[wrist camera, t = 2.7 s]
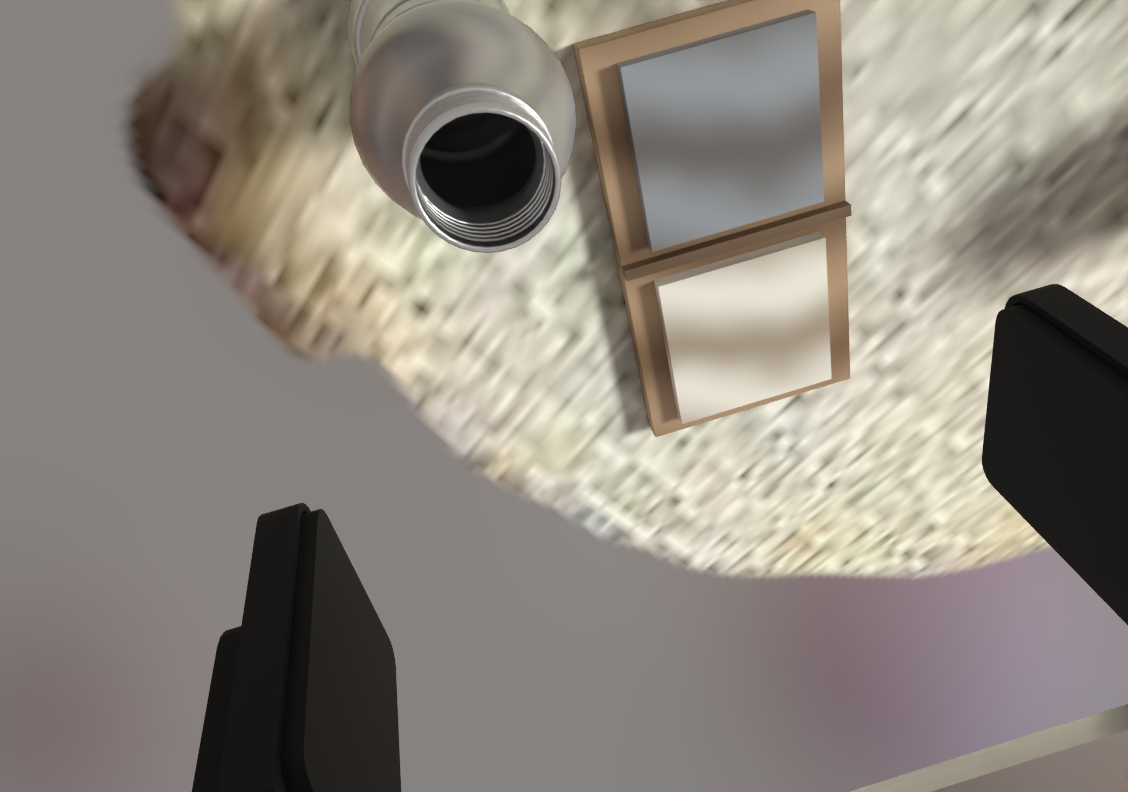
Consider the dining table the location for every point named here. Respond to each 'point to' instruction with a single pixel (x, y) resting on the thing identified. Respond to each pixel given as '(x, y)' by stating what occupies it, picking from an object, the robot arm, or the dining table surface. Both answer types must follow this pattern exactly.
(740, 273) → the makeup compact
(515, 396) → the dining table surface
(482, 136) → the plastic bottle
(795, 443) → the dining table surface
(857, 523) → the dining table surface
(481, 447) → the dining table surface
